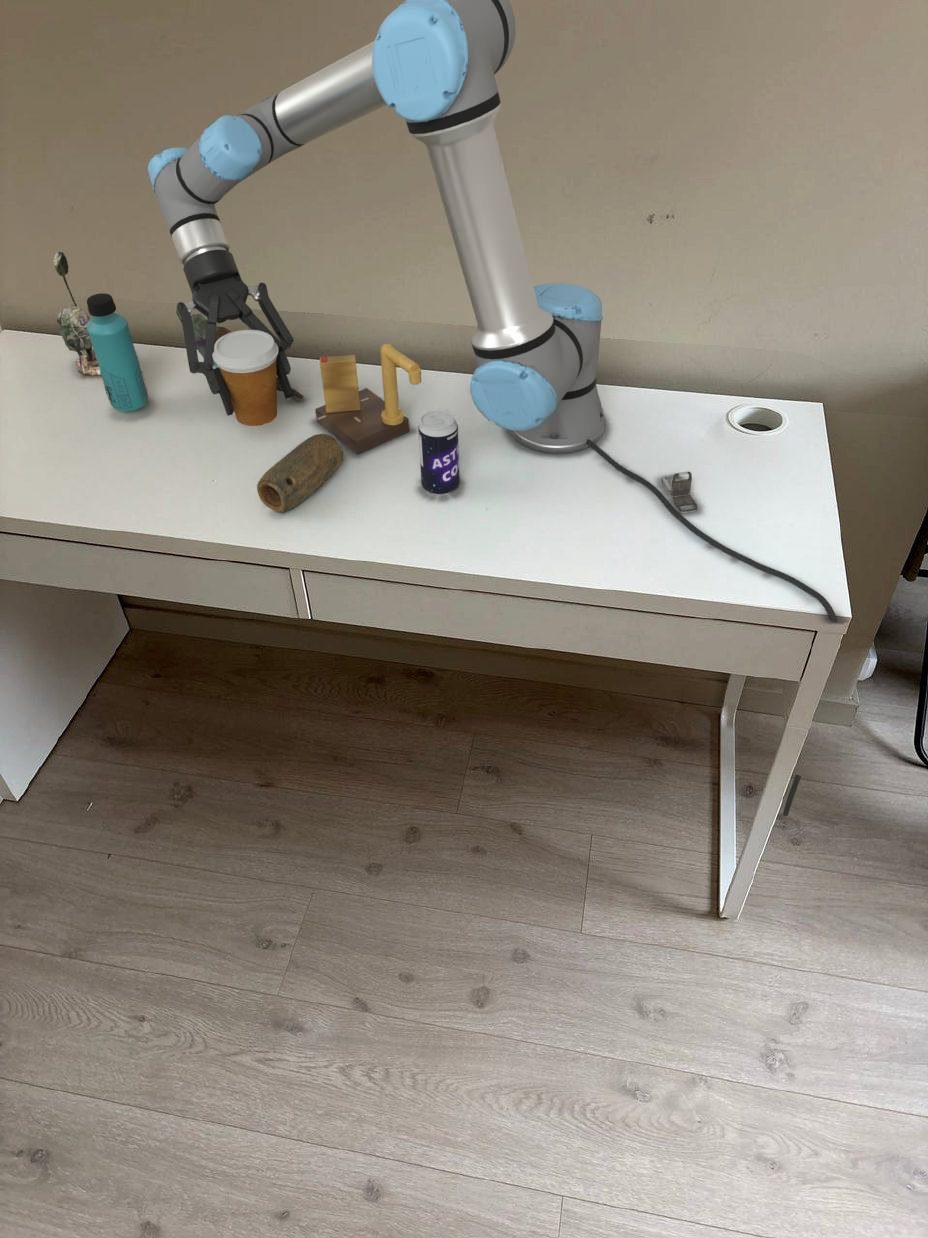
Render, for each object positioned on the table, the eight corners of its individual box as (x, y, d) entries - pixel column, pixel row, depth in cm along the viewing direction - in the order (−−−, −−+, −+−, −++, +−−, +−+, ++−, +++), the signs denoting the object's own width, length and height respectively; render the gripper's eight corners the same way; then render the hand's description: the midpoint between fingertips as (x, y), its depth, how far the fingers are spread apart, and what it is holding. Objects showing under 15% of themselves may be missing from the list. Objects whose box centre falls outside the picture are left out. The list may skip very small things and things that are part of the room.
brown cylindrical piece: (298, 523, 148) (291, 486, 143) (257, 511, 150) (249, 474, 145) (349, 467, 157) (345, 431, 153) (310, 457, 159) (305, 420, 155)
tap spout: (431, 436, 158) (427, 361, 149) (412, 445, 157) (407, 369, 148) (395, 410, 164) (390, 336, 155) (377, 418, 162) (370, 343, 153)
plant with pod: (58, 380, 177) (21, 270, 163) (91, 348, 185) (58, 240, 171) (100, 386, 176) (67, 275, 162) (132, 353, 184) (102, 245, 170)
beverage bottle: (160, 405, 171) (130, 293, 157) (131, 424, 167) (98, 311, 153) (132, 394, 174) (100, 283, 160) (103, 413, 170) (68, 300, 156)
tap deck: (409, 431, 164) (408, 417, 162) (350, 457, 159) (348, 443, 157) (361, 396, 172) (360, 382, 170) (303, 419, 167) (301, 405, 165)
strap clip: (659, 480, 153) (662, 456, 150) (679, 477, 154) (682, 454, 151) (678, 514, 147) (682, 491, 144) (699, 511, 148) (703, 488, 145)
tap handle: (360, 404, 165) (354, 352, 159) (360, 410, 164) (355, 358, 158) (326, 407, 165) (319, 355, 159) (326, 413, 164) (319, 361, 157)
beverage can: (432, 503, 150) (428, 434, 142) (415, 482, 154) (411, 414, 146) (466, 491, 152) (464, 423, 144) (448, 472, 156) (446, 404, 148)
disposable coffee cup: (276, 435, 152) (264, 363, 144) (216, 428, 153) (200, 357, 145) (296, 401, 159) (286, 330, 150) (238, 395, 160) (225, 325, 152)
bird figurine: (321, 382, 174) (252, 277, 165) (291, 413, 167) (217, 305, 159) (271, 403, 182) (203, 304, 173) (240, 432, 176) (168, 331, 167)
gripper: (271, 253, 157) (322, 392, 158) (135, 285, 150) (189, 430, 151) (278, 232, 150) (331, 378, 151) (135, 264, 143) (192, 417, 144)
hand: (260, 404), depth 151 cm, fingers closed on disposable coffee cup, 8 cm apart
